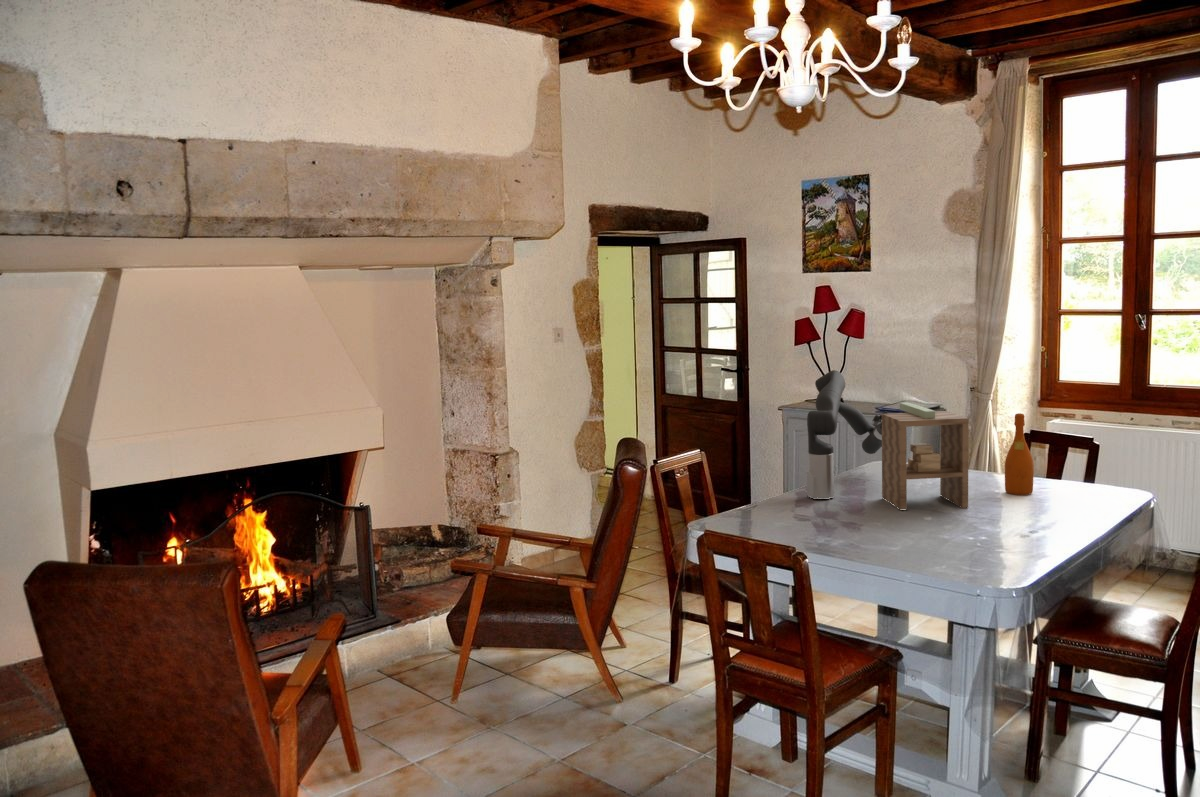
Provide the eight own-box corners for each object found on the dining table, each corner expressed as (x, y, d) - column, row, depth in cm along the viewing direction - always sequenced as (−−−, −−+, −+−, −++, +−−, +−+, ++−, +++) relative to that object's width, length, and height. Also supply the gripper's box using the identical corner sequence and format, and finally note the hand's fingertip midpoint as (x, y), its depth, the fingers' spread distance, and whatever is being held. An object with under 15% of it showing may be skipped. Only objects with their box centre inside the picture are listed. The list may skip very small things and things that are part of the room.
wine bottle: (998, 492, 358) (999, 413, 354) (1017, 489, 362) (1018, 411, 358) (1020, 497, 349) (1021, 416, 345) (1039, 493, 353) (1040, 413, 349)
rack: (882, 498, 355) (881, 413, 351) (945, 495, 355) (945, 411, 352) (901, 511, 335) (900, 421, 331) (968, 507, 336) (968, 418, 332)
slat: (899, 409, 361) (899, 402, 361) (908, 408, 361) (908, 402, 361) (925, 418, 335) (925, 411, 335) (935, 417, 336) (935, 410, 335)
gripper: (866, 420, 385) (877, 404, 370) (900, 418, 385) (913, 403, 371) (869, 437, 382) (880, 422, 367) (904, 435, 383) (917, 420, 368)
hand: (897, 412), depth 369 cm, fingers open, 8 cm apart
